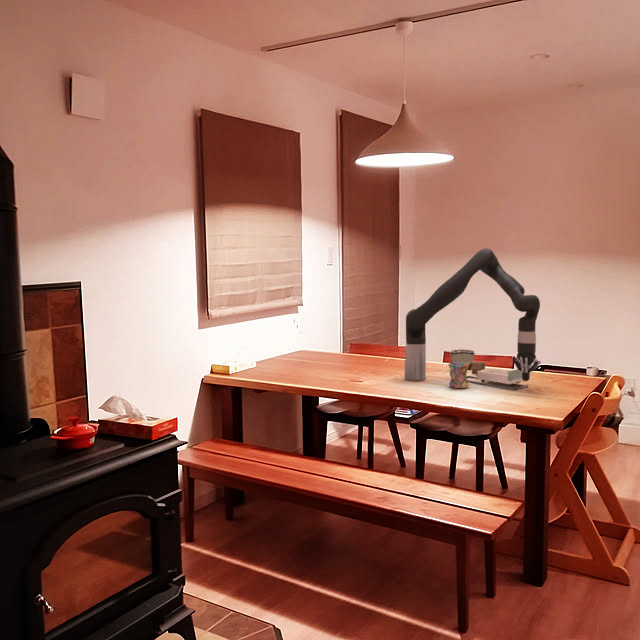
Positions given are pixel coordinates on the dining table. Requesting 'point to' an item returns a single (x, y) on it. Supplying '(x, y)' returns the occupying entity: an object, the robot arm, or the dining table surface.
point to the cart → (500, 376)
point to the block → (477, 367)
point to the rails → (497, 385)
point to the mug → (458, 374)
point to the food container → (463, 356)
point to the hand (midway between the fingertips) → (525, 380)
